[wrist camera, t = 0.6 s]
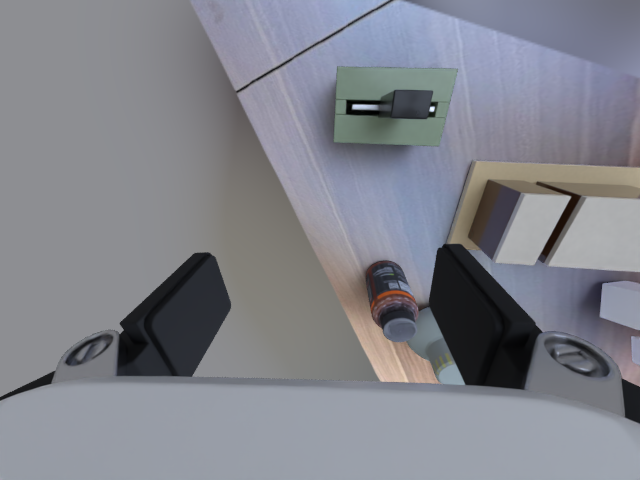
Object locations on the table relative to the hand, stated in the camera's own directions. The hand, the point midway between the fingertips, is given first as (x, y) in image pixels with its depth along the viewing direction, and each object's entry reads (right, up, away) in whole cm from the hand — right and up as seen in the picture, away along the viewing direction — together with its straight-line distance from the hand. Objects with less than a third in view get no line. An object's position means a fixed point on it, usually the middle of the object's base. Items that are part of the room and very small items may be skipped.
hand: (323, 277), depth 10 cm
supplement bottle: (+10, -4, +28) cm, 30 cm away
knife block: (+7, +17, +17) cm, 25 cm away
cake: (+28, +6, +21) cm, 36 cm away
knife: (+7, +16, +16) cm, 24 cm away
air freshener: (+20, -12, +31) cm, 39 cm away
